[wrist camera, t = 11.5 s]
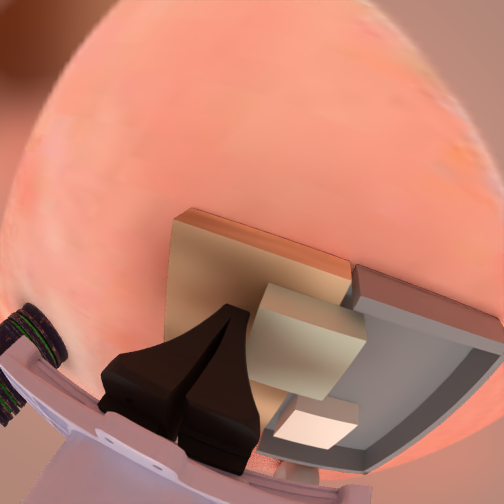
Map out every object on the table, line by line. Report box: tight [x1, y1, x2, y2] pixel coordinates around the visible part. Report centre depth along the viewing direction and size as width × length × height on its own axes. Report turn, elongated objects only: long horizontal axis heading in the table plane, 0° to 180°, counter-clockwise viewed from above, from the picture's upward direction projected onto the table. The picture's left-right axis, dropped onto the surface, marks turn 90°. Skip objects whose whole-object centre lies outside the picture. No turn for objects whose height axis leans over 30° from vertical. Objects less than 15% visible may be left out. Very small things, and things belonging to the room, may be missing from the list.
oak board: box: [164, 208, 352, 434], centre depth 18 cm, size 19×9×2 cm, turn 166°
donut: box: [273, 461, 319, 486], centre depth 20 cm, size 10×4×10 cm, turn 166°
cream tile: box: [273, 394, 359, 449], centre depth 18 cm, size 5×5×2 cm
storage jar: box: [0, 303, 68, 427], centre depth 23 cm, size 10×10×15 cm
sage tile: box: [246, 283, 367, 401], centre depth 13 cm, size 5×5×2 cm
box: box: [255, 264, 504, 475], centre depth 16 cm, size 19×12×3 cm, turn 166°
